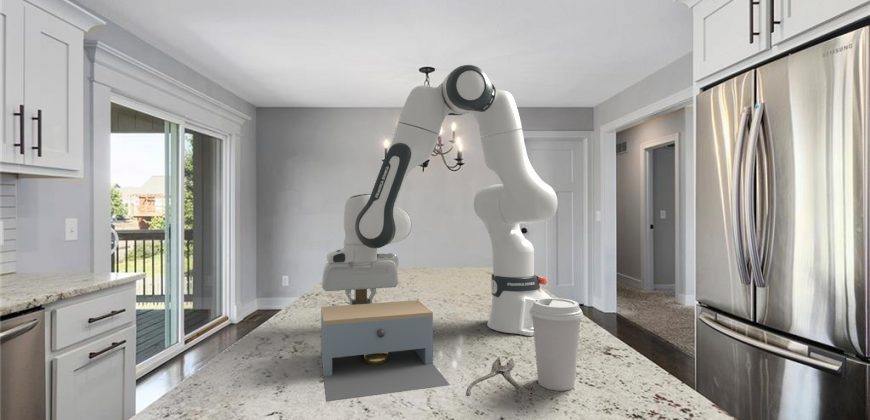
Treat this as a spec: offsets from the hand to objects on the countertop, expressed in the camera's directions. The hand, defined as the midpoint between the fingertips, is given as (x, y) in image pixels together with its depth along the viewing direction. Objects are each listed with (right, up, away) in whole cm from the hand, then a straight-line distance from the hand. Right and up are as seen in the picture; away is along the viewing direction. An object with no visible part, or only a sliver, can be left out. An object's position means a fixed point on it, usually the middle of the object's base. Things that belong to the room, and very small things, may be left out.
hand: (360, 305), depth 115 cm
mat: (+9, -6, -28) cm, 30 cm away
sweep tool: (+3, -6, -9) cm, 11 cm away
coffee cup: (+42, -7, -36) cm, 56 cm away
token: (+8, -6, -25) cm, 27 cm away
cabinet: (+7, -6, -24) cm, 26 cm away
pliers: (+31, -7, -33) cm, 46 cm away
